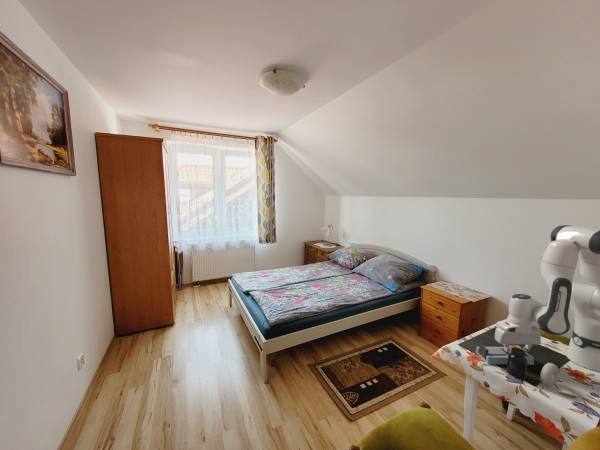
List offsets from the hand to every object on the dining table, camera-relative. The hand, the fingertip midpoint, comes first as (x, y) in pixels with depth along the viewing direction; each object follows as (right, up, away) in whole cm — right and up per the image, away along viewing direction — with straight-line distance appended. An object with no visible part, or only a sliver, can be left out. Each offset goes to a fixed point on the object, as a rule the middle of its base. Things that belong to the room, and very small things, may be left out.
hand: (516, 350), depth 121 cm
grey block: (-12, -3, +1) cm, 12 cm away
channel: (-6, -4, +1) cm, 7 cm away
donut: (-1, -6, -17) cm, 18 cm away
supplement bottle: (-9, -6, -10) cm, 15 cm away
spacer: (0, -3, 0) cm, 3 cm away
